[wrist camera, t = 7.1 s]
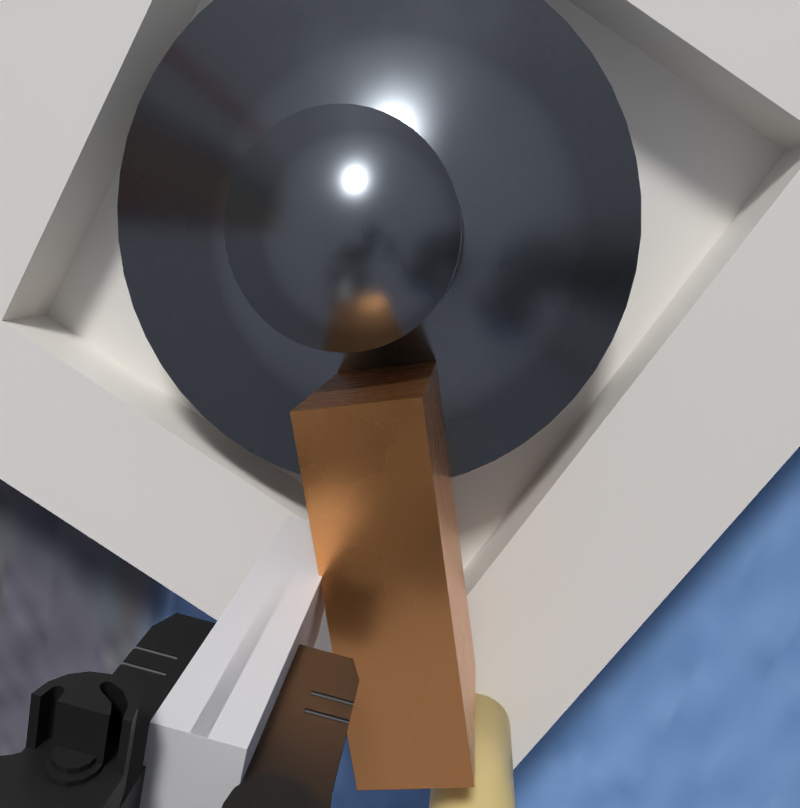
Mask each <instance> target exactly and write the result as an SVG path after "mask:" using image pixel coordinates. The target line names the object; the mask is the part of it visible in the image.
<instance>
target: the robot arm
mask: <svg viewBox="0 0 800 808" xmlns="http://www.w3.org/2000/svg"><path fill="white" fill-rule="evenodd" d="M321 580H322V576H319V573H318V568H317V562H316V556H315V551H314V545H313V540H312V534H311V528H310V523H309V521H306V520H302V519H299V518H295V517H291V516H287V518H286V519H285V521H284V522H283V524H282V525H281V527H280V528H279V530H278V531H277V533H276V534H275V536H274V537H273V539H272V540H271V542H270V543H269V545H268V546H267V548H266V549H265V551H264V552H263V554H262V555H261V557H260V558H259V560H258V561H257V563H256V564H255V566H254V567H253V569H252V570H251V572H250V573H249V575H248V576H247V578H246V579H245V581H244V582H243V584H242V585H241V586H240V588H239V589H238V591H237V592H236V594H235V595H234V597H233V598H232V600H231V601H230V603H229V604H228V606H227V607H226V609H225V610H224V612H223V613H222V615H221V616H220V618H219V619H218V621H217V622H216V623H212V622H208V621H204V620H201V619H197V618H193V617H190V616H186V615H182V614H178V613H176V614H174V615H172V616H170V617H169V618H167V619H165V620H163V621H161V622H159V623H157V624H156V625H154V626H152V627H151V629H150V630H149V631H148V632H147V633H146V635H145V636H144V637H143V638H142V639H141V641H140V642H139V643H138V644H137V646H136V649H133V650H132V651H131V653H130V654H129V655H128V656H127V657H126V659H125V660H124V662H123V664H122V665H120V666H119V667H118V668H117V669H116V671H115V672H114V673H113V674H112V675H111V674H105V673H97V672H82V673H74V674H67V675H65V676H62V677H59V678H57V679H54V680H51V681H48V682H47V683H46V684H44V685H43V686H41V687H40V688H39V689H37V690H36V691H34V692H33V693H32V694H31V704H30V713H29V723H28V732H27V742H26V748H25V749H24V750H23V751H22V752H21V753H17V754H13V755H5V756H0V808H331V798H332V792H333V787H334V783H335V779H336V775H337V771H338V767H339V763H340V759H341V755H342V750H343V746H344V742H345V738H346V734H347V730H348V726H349V722H350V718H351V714H352V709H353V705H354V701H355V697H356V693H357V689H358V685H359V681H360V680H359V676H358V673H357V670H356V667H355V664H354V660H353V658H349V657H345V656H342V655H338V654H334V653H331V652H327V651H323V650H319V649H316V648H314V645H315V642H316V640H317V637H318V634H319V630H320V626H321V621H322V617H323V613H324V608H325V607H324V601H323V596H322V590H321Z"/></svg>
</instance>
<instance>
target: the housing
mask: <svg viewBox="0 0 800 808" xmlns="http://www.w3.org/2000/svg"><path fill="white" fill-rule="evenodd" d="M212 1H213V0H0V479H1V480H3V481H4V482H6V483H7V484H9V485H10V486H12V487H13V488H15V489H17V490H18V491H20V492H21V493H23V494H24V495H26V496H27V497H29V498H30V499H32V500H33V501H35V502H36V503H38V504H39V505H41V506H43V507H44V508H46V509H47V510H49V511H50V512H52V513H53V514H55V515H56V516H58V517H59V518H61V519H62V520H64V521H65V522H67V523H69V524H70V525H72V526H73V527H75V528H76V529H78V530H79V531H81V532H82V533H84V534H85V535H87V536H88V537H90V538H92V539H93V540H95V541H96V542H98V543H99V544H101V545H102V546H104V547H105V548H107V549H108V550H110V551H111V552H113V553H114V554H116V555H118V556H119V557H121V558H122V559H124V560H125V561H127V562H128V563H130V564H131V565H133V566H134V567H136V568H137V569H139V570H141V571H142V572H144V573H145V574H147V575H148V576H150V577H151V578H153V579H154V580H156V581H157V582H159V583H160V584H162V585H163V586H165V587H167V588H168V589H170V590H171V591H173V592H174V593H176V594H177V595H179V596H180V597H182V598H183V599H185V600H186V601H188V602H190V603H191V604H193V605H194V606H196V607H197V608H199V609H200V610H202V611H203V612H205V613H206V614H208V615H209V616H211V617H212V618H214V619H216V620H217V621H218V619H219V618H220V616H221V615H222V613H223V612H224V610H225V609H226V607H227V606H228V604H229V603H230V601H231V600H232V598H233V597H234V595H235V594H236V592H237V591H238V589H239V588H240V586H241V585H242V584H243V582H244V581H245V579H246V578H247V576H248V575H249V573H250V572H251V570H252V569H253V567H254V566H255V564H256V563H257V561H258V560H259V558H260V557H261V555H262V554H263V552H264V551H265V549H266V548H267V546H268V545H269V543H270V542H271V540H272V539H273V537H274V536H275V534H276V533H277V531H278V530H279V528H280V527H281V525H282V524H283V522H284V521H285V519H286V518H287V516H291V517H295V518H299V519H302V520H306V521H309V517H308V511H307V506H306V500H305V495H304V489H303V483H302V478H301V475H300V474H297V473H294V472H292V471H289V470H286V469H283V468H281V467H279V466H277V465H275V464H273V463H271V462H269V461H267V460H265V459H263V458H261V457H259V456H257V455H255V454H253V453H251V452H250V451H248V450H247V449H245V448H244V447H242V446H241V445H239V444H238V443H236V442H235V441H233V440H232V439H230V438H229V437H227V436H226V435H225V434H224V433H222V432H221V431H220V430H219V429H218V428H217V427H215V426H214V425H213V424H212V423H211V422H209V421H208V420H207V419H206V418H205V417H204V416H202V414H201V413H200V412H199V411H198V410H197V409H196V408H195V407H194V406H193V405H192V404H191V403H190V401H189V400H188V399H187V398H186V397H185V396H184V395H183V394H182V393H181V392H180V390H179V389H178V388H177V386H176V385H175V383H174V382H173V381H172V379H171V378H170V376H169V375H168V374H167V372H166V371H165V370H164V368H163V367H162V365H161V364H160V362H159V360H158V358H157V356H156V355H155V353H154V351H153V349H152V348H151V346H150V344H149V342H148V340H147V339H146V337H145V334H144V332H143V329H142V327H141V325H140V322H139V320H138V317H137V315H136V313H135V310H134V308H133V305H132V301H131V298H130V294H129V291H128V287H127V284H126V280H125V277H124V272H123V266H122V259H121V253H120V247H119V240H118V215H117V202H118V190H119V177H120V169H121V164H122V159H123V154H124V150H125V145H126V140H127V136H128V133H129V130H130V127H131V124H132V121H133V118H134V115H135V112H136V109H137V106H138V104H139V102H140V99H141V97H142V95H143V93H144V91H145V89H146V87H147V85H148V83H149V81H150V79H151V77H152V75H153V73H154V71H155V69H156V68H157V66H158V65H159V63H160V62H161V60H162V59H163V57H164V56H165V54H166V53H167V51H168V50H169V48H170V47H171V45H172V44H173V42H174V41H175V40H176V39H177V37H178V36H179V35H180V34H181V33H182V32H183V31H184V29H185V28H186V27H187V26H188V25H189V24H190V22H191V21H192V20H193V19H194V18H195V17H196V16H197V14H199V13H200V12H201V11H202V10H203V9H204V8H205V7H207V6H208V5H209V4H210V3H211V2H212ZM544 1H545V2H547V3H548V4H549V5H550V6H551V7H552V8H553V9H554V10H555V11H556V12H557V13H558V14H559V15H560V16H561V17H563V18H564V19H565V20H566V21H567V22H568V23H569V25H570V26H571V27H572V28H573V30H574V31H575V32H576V33H577V35H578V36H579V37H580V38H581V40H582V41H583V42H584V43H585V45H586V46H587V47H588V48H589V50H590V51H591V52H592V54H593V55H594V57H595V59H596V60H597V62H598V64H599V65H600V67H601V69H602V71H603V72H604V74H605V76H606V77H607V79H608V81H609V82H610V84H611V86H612V88H613V90H614V93H615V95H616V98H617V100H618V102H619V105H620V107H621V110H622V112H623V114H624V117H625V119H626V121H627V125H628V129H629V133H630V136H631V140H632V144H633V148H634V151H635V155H636V159H637V167H638V175H639V182H640V190H641V239H640V247H639V254H638V261H637V269H636V274H635V277H634V281H633V285H632V288H631V292H630V296H629V300H628V303H627V307H626V309H625V312H624V314H623V317H622V319H621V321H620V324H619V326H618V329H617V331H616V333H615V336H614V338H613V340H612V342H611V344H610V346H609V347H608V349H607V351H606V353H605V354H604V356H603V358H602V360H601V361H600V363H599V365H598V367H597V368H596V370H595V372H594V373H593V374H592V376H591V377H590V378H589V379H588V381H587V382H586V383H585V385H584V386H583V387H582V389H581V390H580V391H579V393H578V394H577V395H576V397H575V398H574V399H573V400H572V401H571V402H570V403H569V404H568V405H567V406H566V407H565V408H564V409H563V410H562V411H561V412H560V413H559V414H558V415H557V416H556V417H555V418H554V419H553V420H552V421H551V422H550V423H549V424H548V425H547V426H545V427H544V428H543V429H542V430H540V431H539V432H538V433H536V434H535V435H534V436H533V437H531V438H530V439H529V440H528V441H526V442H525V443H524V444H522V445H520V446H519V447H517V448H515V449H514V450H512V451H510V452H509V453H507V454H505V455H504V456H502V457H500V458H499V459H497V460H495V461H493V462H491V463H488V464H486V465H484V466H481V467H479V468H477V469H474V470H472V471H470V472H467V473H465V474H462V475H458V476H455V477H451V478H452V486H453V494H454V501H455V509H456V517H457V525H458V533H459V540H460V548H461V556H462V564H463V571H464V579H465V587H466V595H467V602H468V610H469V618H470V626H471V634H472V641H473V649H474V657H475V665H476V674H475V787H473V788H432V789H431V790H430V801H429V808H516V804H515V789H514V774H513V770H514V769H515V767H516V766H517V765H518V764H519V763H520V762H521V761H522V760H523V758H524V757H525V756H526V755H527V754H528V753H529V752H530V750H531V749H532V748H533V747H534V746H535V745H536V744H537V743H538V741H539V740H540V739H541V738H542V737H543V736H544V735H545V734H546V732H547V731H548V730H549V729H550V728H551V727H552V726H553V724H554V723H555V722H556V721H557V720H558V719H559V718H560V717H561V715H562V714H563V713H564V712H565V711H566V710H567V709H568V708H569V706H570V705H571V704H572V703H573V702H574V701H575V700H576V698H577V697H578V696H579V695H580V694H581V693H582V692H583V691H584V689H585V688H586V687H587V686H588V685H589V684H590V683H591V682H592V680H593V679H594V678H595V677H596V676H597V675H598V674H599V672H600V671H601V670H602V669H603V668H604V667H605V666H606V665H607V663H608V662H609V661H610V660H611V659H612V658H613V657H614V656H615V654H616V653H617V652H618V651H619V650H620V649H621V648H622V646H623V645H624V644H625V643H626V642H627V641H628V640H629V639H630V637H631V636H632V635H633V634H634V633H635V632H636V631H637V630H638V628H639V627H640V626H641V625H642V624H643V623H644V622H645V620H646V619H647V618H648V617H649V616H650V615H651V614H652V613H653V611H654V610H655V609H656V608H657V607H658V606H659V605H660V604H661V602H662V601H663V600H664V599H665V598H666V597H667V596H668V594H669V593H670V592H671V591H672V590H673V589H674V588H675V587H676V585H677V584H678V583H679V582H680V581H681V580H682V579H683V578H684V576H685V575H686V574H687V573H688V572H689V571H690V570H691V568H692V567H693V566H694V565H695V564H696V563H697V562H698V561H699V559H700V558H701V557H702V556H703V555H704V554H705V553H706V552H707V550H708V549H709V548H710V547H711V546H712V545H713V544H714V542H715V541H716V540H717V539H718V538H719V537H720V536H721V535H722V533H723V532H724V531H725V530H726V529H727V528H728V527H729V526H730V524H731V523H732V522H733V521H734V520H735V519H736V518H737V516H738V515H739V514H740V513H741V512H742V511H743V510H744V509H745V507H746V506H747V505H748V504H749V503H750V502H751V501H752V500H753V498H754V497H755V496H756V495H757V494H758V493H759V492H760V490H761V489H762V488H763V487H764V486H765V485H766V484H767V483H768V481H769V480H770V479H771V478H772V477H773V476H774V475H775V474H776V472H777V471H778V470H779V469H780V468H781V467H782V466H783V464H784V463H785V462H786V461H787V460H788V459H789V458H790V457H791V455H792V454H793V453H794V452H795V451H796V450H797V449H798V448H799V446H800V0H544ZM314 648H316V649H319V650H323V651H327V652H331V653H333V652H332V646H331V641H330V635H329V629H328V624H327V618H326V613H325V608H324V613H323V617H322V621H321V626H320V630H319V634H318V637H317V640H316V642H315V645H314Z"/></svg>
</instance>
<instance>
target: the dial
mask: <svg viewBox="0 0 800 808" xmlns="http://www.w3.org/2000/svg"><path fill="white" fill-rule="evenodd" d="M117 215H118V240H119V247H120V253H121V259H122V266H123V272H124V277H125V280H126V284H127V287H128V291H129V294H130V298H131V301H132V305H133V308H134V310H135V313H136V315H137V317H138V320H139V322H140V325H141V327H142V329H143V332H144V334H145V337H146V339H147V340H148V342H149V344H150V346H151V348H152V349H153V351H154V353H155V355H156V356H157V358H158V360H159V362H160V364H161V365H162V367H163V368H164V370H165V371H166V372H167V374H168V375H169V376H170V378H171V379H172V381H173V382H174V383H175V385H176V386H177V388H178V389H179V390H180V392H181V393H182V394H183V395H184V396H185V397H186V398H187V399H188V400H189V401H190V403H191V404H192V405H193V406H194V407H195V408H196V409H197V410H198V411H199V412H200V413H201V414H202V416H204V417H205V418H206V419H207V420H208V421H209V422H211V423H212V424H213V425H214V426H215V427H217V428H218V429H219V430H220V431H221V432H222V433H224V434H225V435H226V436H227V437H229V438H230V439H232V440H233V441H235V442H236V443H238V444H239V445H241V446H242V447H244V448H245V449H247V450H248V451H250V452H251V453H253V454H255V455H257V456H259V457H261V458H263V459H265V460H267V461H269V462H271V463H273V464H275V465H277V466H279V467H281V468H283V469H286V470H289V471H292V472H294V473H297V474H300V475H301V478H302V483H303V489H304V495H305V500H306V506H307V511H308V517H309V523H310V528H311V534H312V540H313V545H314V551H315V556H316V562H317V568H318V573H319V576H322V580H321V590H322V596H323V601H324V607H325V613H326V618H327V624H328V629H329V635H330V641H331V646H332V652H333V653H334V654H338V655H342V656H345V657H349V658H353V660H354V664H355V667H356V670H357V673H358V676H359V680H360V681H359V685H358V689H357V693H356V697H355V701H354V705H353V709H352V714H351V718H350V722H349V726H348V730H347V736H348V742H349V747H350V753H351V759H352V764H353V770H354V776H355V781H356V787H357V790H391V789H432V788H473V787H475V674H476V665H475V657H474V649H473V641H472V634H471V626H470V618H469V610H468V602H467V595H466V587H465V579H464V571H463V564H462V556H461V548H460V540H459V533H458V525H457V517H456V509H455V501H454V494H453V486H452V478H451V477H455V476H458V475H462V474H465V473H467V472H470V471H472V470H474V469H477V468H479V467H481V466H484V465H486V464H488V463H491V462H493V461H495V460H497V459H499V458H500V457H502V456H504V455H505V454H507V453H509V452H510V451H512V450H514V449H515V448H517V447H519V446H520V445H522V444H524V443H525V442H526V441H528V440H529V439H530V438H531V437H533V436H534V435H535V434H536V433H538V432H539V431H540V430H542V429H543V428H544V427H545V426H547V425H548V424H549V423H550V422H551V421H552V420H553V419H554V418H555V417H556V416H557V415H558V414H559V413H560V412H561V411H562V410H563V409H564V408H565V407H566V406H567V405H568V404H569V403H570V402H571V401H572V400H573V399H574V398H575V397H576V395H577V394H578V393H579V391H580V390H581V389H582V387H583V386H584V385H585V383H586V382H587V381H588V379H589V378H590V377H591V376H592V374H593V373H594V372H595V370H596V368H597V367H598V365H599V363H600V361H601V360H602V358H603V356H604V354H605V353H606V351H607V349H608V347H609V346H610V344H611V342H612V340H613V338H614V336H615V333H616V331H617V329H618V326H619V324H620V321H621V319H622V317H623V314H624V312H625V309H626V307H627V303H628V300H629V296H630V292H631V288H632V285H633V281H634V277H635V274H636V269H637V261H638V254H639V247H640V239H641V190H640V182H639V175H638V167H637V159H636V155H635V151H634V148H633V144H632V140H631V136H630V133H629V129H628V125H627V121H626V119H625V117H624V114H623V112H622V110H621V107H620V105H619V102H618V100H617V98H616V95H615V93H614V90H613V88H612V86H611V84H610V82H609V81H608V79H607V77H606V76H605V74H604V72H603V71H602V69H601V67H600V65H599V64H598V62H597V60H596V59H595V57H594V55H593V54H592V52H591V51H590V50H589V48H588V47H587V46H586V45H585V43H584V42H583V41H582V40H581V38H580V37H579V36H578V35H577V33H576V32H575V31H574V30H573V28H572V27H571V26H570V25H569V23H568V22H567V21H566V20H565V19H564V18H563V17H561V16H560V15H559V14H558V13H557V12H556V11H555V10H554V9H553V8H552V7H551V6H550V5H549V4H548V3H547V2H545V1H544V0H213V1H212V2H211V3H210V4H209V5H208V6H207V7H205V8H204V9H203V10H202V11H201V12H200V13H199V14H197V16H196V17H195V18H194V19H193V20H192V21H191V22H190V24H189V25H188V26H187V27H186V28H185V29H184V31H183V32H182V33H181V34H180V35H179V36H178V37H177V39H176V40H175V41H174V42H173V44H172V45H171V47H170V48H169V50H168V51H167V53H166V54H165V56H164V57H163V59H162V60H161V62H160V63H159V65H158V66H157V68H156V69H155V71H154V73H153V75H152V77H151V79H150V81H149V83H148V85H147V87H146V89H145V91H144V93H143V95H142V97H141V99H140V102H139V104H138V106H137V109H136V112H135V115H134V118H133V121H132V124H131V127H130V130H129V133H128V136H127V140H126V145H125V150H124V154H123V159H122V164H121V169H120V177H119V190H118V202H117Z"/></svg>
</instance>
